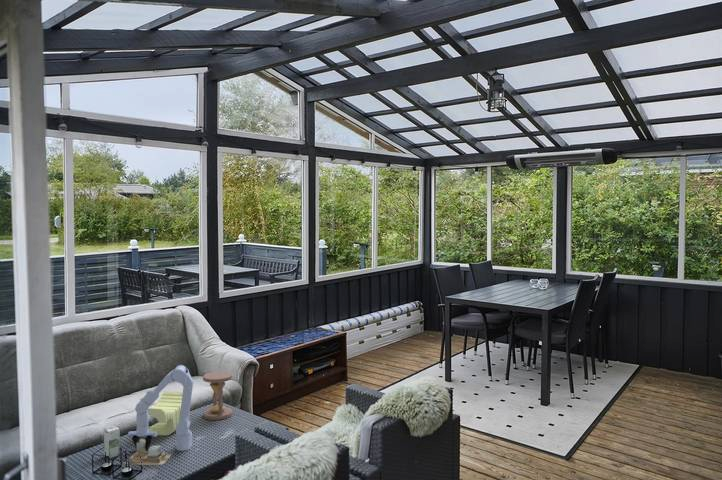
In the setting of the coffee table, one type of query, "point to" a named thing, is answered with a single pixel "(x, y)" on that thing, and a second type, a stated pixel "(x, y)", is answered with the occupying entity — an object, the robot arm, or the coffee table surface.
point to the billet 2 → (154, 451)
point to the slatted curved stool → (166, 413)
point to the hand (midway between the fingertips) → (142, 449)
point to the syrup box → (112, 441)
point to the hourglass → (217, 385)
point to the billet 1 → (141, 445)
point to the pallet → (148, 459)
